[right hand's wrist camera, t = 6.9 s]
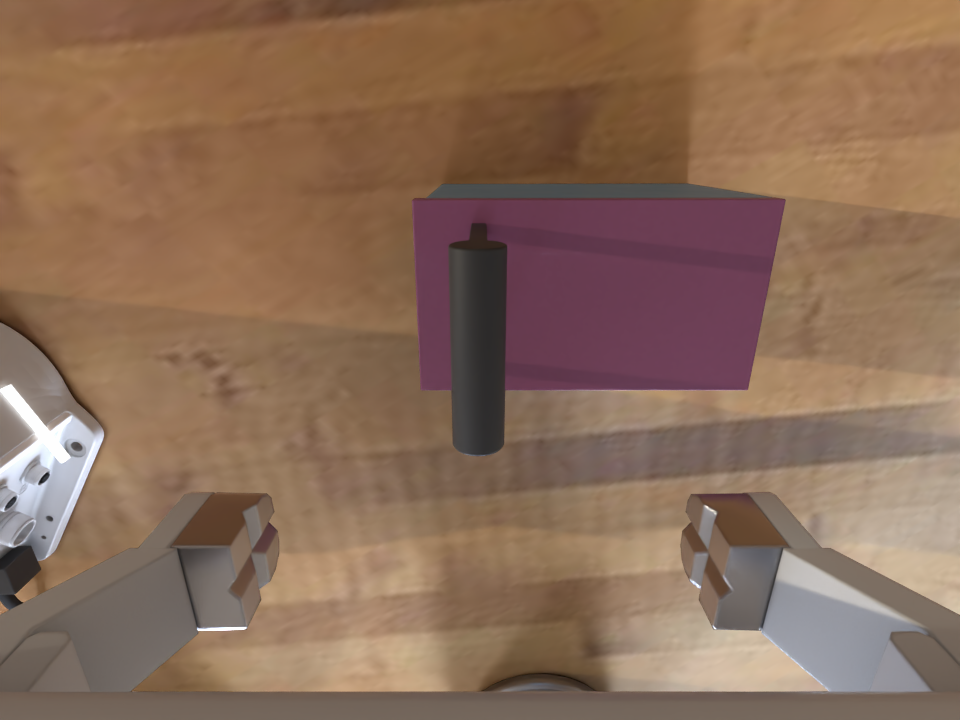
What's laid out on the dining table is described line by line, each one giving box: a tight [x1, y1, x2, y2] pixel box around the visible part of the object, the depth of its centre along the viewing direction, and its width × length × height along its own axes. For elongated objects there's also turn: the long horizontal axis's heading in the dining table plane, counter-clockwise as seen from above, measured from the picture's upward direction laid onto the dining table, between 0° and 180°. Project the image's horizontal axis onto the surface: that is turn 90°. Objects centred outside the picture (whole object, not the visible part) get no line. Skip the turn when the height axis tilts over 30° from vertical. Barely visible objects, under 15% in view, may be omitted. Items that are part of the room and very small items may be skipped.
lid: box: [412, 198, 785, 456], centre depth 23 cm, size 17×10×9 cm, turn 90°
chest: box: [427, 184, 772, 198], centre depth 32 cm, size 16×10×11 cm, turn 90°
